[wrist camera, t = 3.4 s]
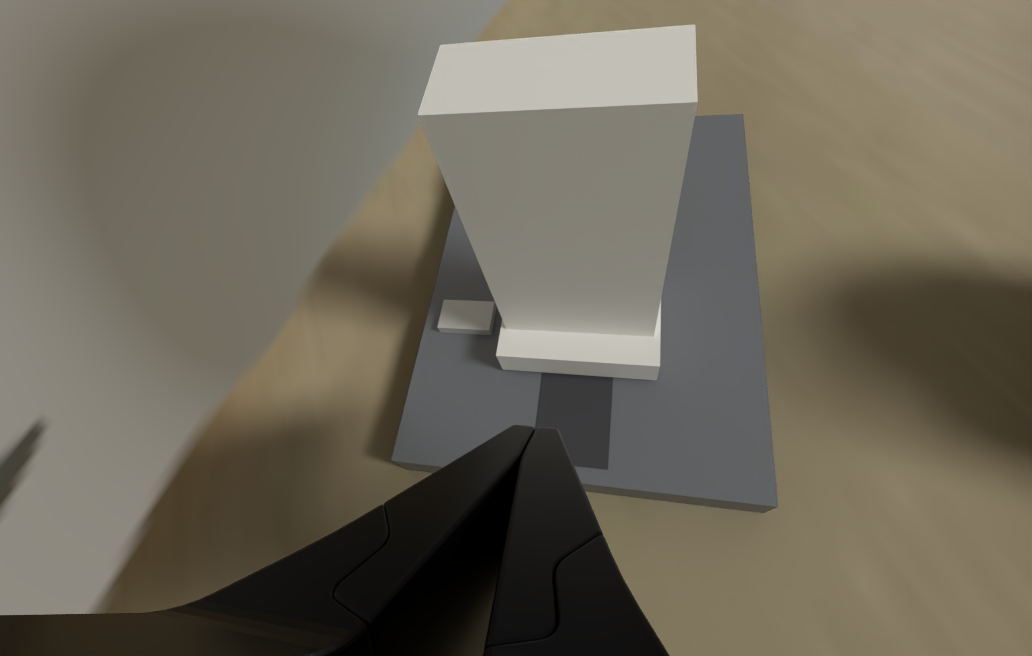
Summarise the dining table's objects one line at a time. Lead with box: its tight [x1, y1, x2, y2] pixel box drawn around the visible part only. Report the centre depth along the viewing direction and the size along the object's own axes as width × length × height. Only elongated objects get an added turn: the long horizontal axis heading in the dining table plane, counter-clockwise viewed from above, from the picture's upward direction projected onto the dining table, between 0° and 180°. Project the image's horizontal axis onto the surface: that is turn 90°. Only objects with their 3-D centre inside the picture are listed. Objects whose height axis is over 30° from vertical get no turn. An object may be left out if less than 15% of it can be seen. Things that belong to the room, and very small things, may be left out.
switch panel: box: [391, 114, 778, 513], centre depth 19 cm, size 16×12×2 cm
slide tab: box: [417, 25, 698, 380], centre depth 13 cm, size 4×5×10 cm
